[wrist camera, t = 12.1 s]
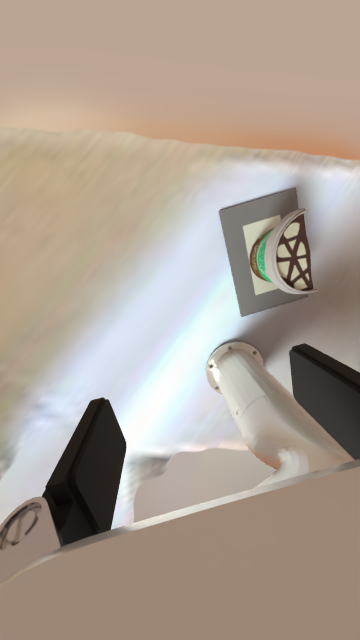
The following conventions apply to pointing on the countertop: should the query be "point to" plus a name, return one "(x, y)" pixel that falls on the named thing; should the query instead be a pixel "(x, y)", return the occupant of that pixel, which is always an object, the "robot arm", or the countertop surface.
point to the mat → (240, 236)
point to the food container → (284, 255)
